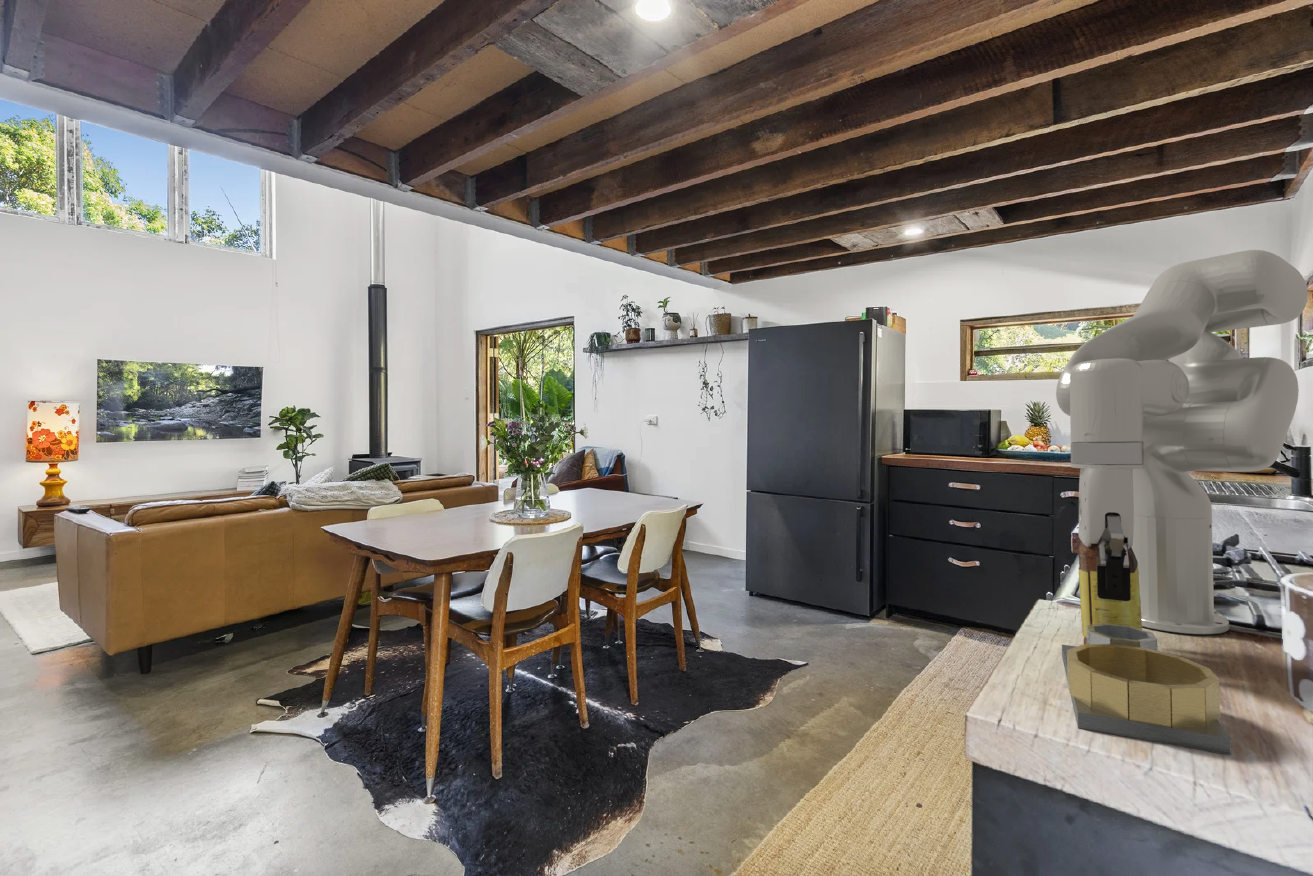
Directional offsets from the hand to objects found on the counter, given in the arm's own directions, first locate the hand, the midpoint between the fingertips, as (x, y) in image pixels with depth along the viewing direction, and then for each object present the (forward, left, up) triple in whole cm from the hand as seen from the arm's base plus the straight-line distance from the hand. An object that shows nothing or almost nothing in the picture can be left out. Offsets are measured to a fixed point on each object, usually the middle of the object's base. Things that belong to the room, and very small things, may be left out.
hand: (1108, 590), depth 78 cm
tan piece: (+15, 0, -8) cm, 17 cm away
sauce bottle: (0, 0, -8) cm, 8 cm away
